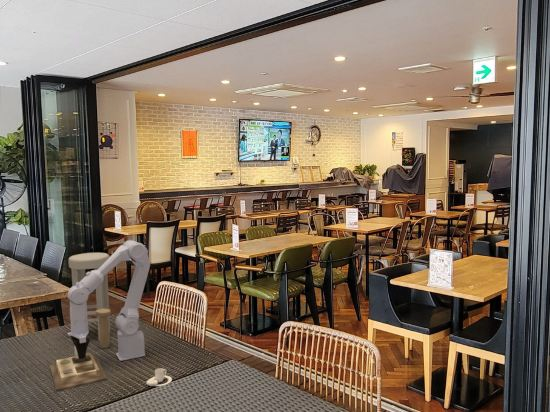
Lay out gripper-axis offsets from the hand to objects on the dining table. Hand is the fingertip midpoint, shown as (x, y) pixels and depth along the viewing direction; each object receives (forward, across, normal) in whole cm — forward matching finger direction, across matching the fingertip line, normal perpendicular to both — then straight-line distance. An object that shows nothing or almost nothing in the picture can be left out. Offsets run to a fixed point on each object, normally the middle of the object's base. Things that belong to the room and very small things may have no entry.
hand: (81, 356), depth 176 cm
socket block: (+4, +5, -2) cm, 6 cm away
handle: (+4, -16, +11) cm, 20 cm away
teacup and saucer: (+5, +24, +19) cm, 31 cm away
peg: (+3, 0, 0) cm, 3 cm away
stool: (+4, -30, +9) cm, 32 cm away
